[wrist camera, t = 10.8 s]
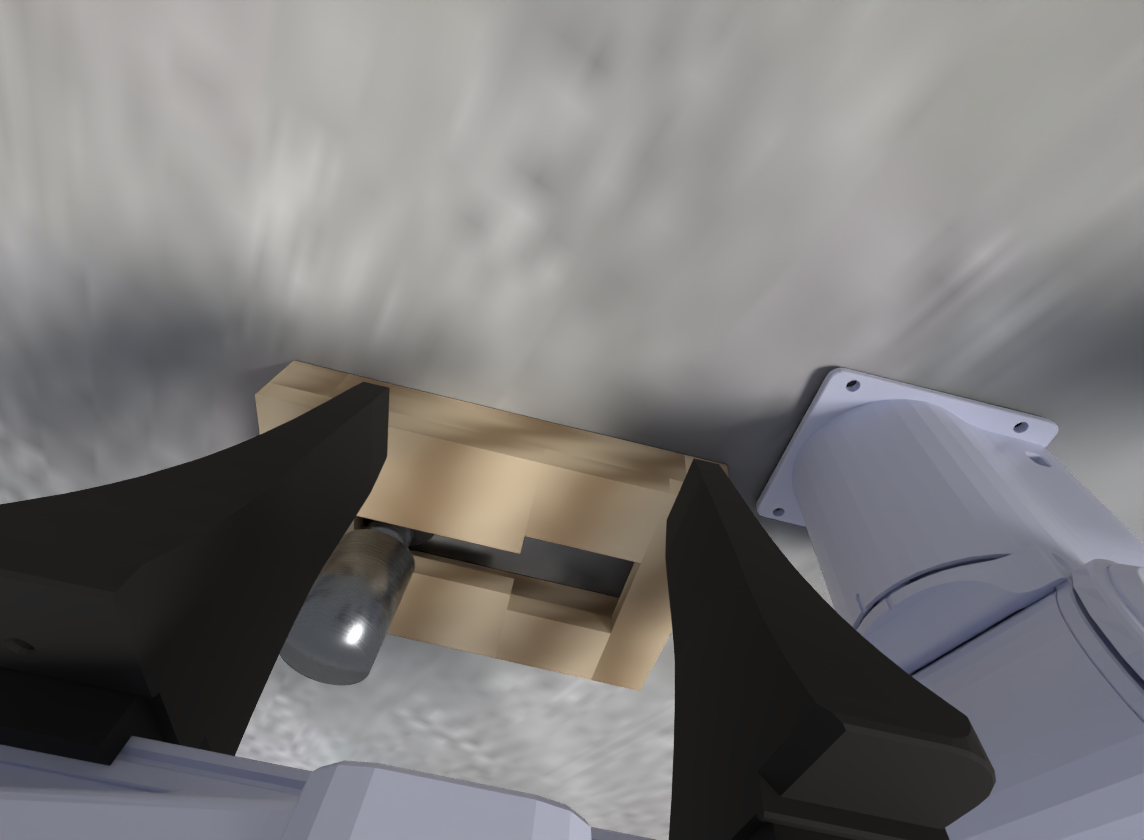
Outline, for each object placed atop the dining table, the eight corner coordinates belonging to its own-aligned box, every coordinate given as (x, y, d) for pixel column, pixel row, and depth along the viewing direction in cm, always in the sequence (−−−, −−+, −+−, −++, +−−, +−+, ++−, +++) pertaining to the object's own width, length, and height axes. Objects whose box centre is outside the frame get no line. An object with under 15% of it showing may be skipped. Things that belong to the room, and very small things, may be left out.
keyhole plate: (726, 464, 25) (736, 509, 23) (640, 643, 33) (640, 690, 31) (293, 360, 25) (254, 394, 22) (309, 567, 32) (281, 609, 30)
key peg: (445, 478, 28) (372, 635, 20) (443, 534, 30) (377, 695, 22) (366, 464, 28) (264, 616, 20) (370, 521, 30) (280, 677, 22)
